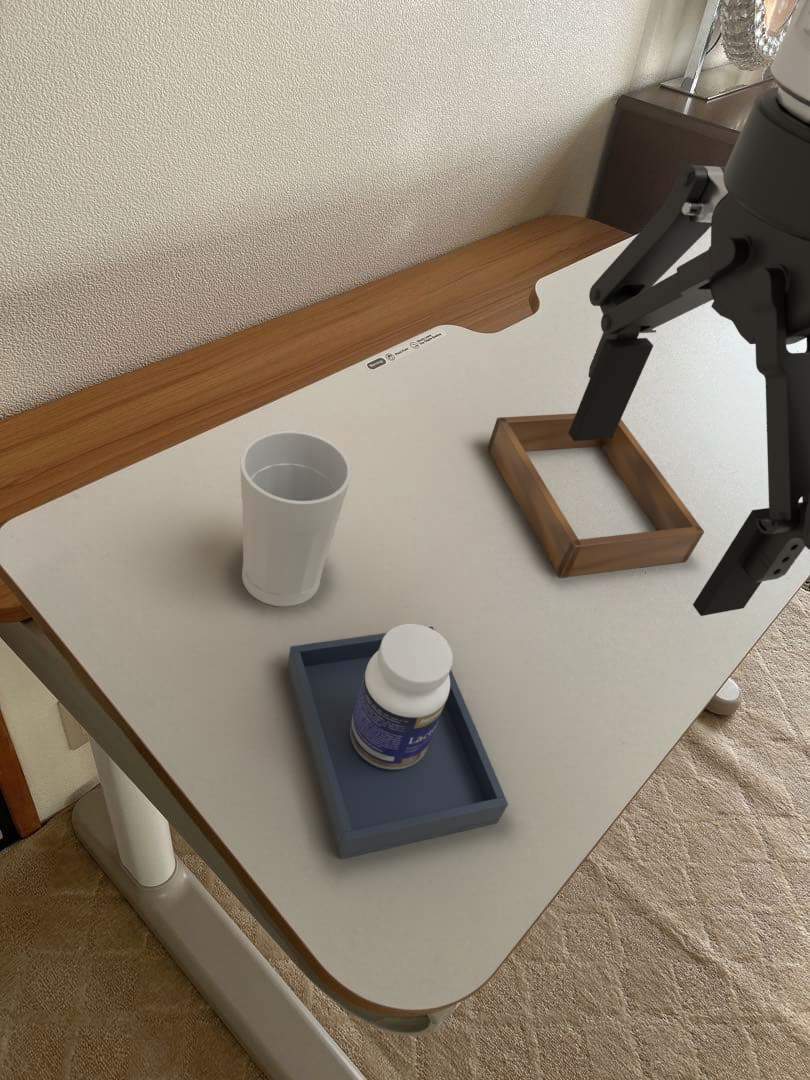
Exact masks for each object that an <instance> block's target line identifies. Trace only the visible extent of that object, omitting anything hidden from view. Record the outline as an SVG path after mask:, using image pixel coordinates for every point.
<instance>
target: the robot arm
mask: <svg viewBox="0 0 810 1080" xmlns="http://www.w3.org/2000/svg"><path fill="white" fill-rule="evenodd" d="M769 68H770V73H771V76H772V78H773V81H774V83H775V84H776V85H777V86H774V87H771V88H769V89H767V90H765V91H764V92H763V93H762V94H759V95H757V96H756V97H755V99H754V100H753V101H754V102H753V103H752V106H751V109H750V110H749V113H748V115H747V117H746V120H745V122H744V124H743V127H742V129H741V131H740V133H739V135H738V137H737V140H736V142H735V145H734V147H733V149H732V151H731V154H730V156H729V158H728V161H727V163H726V165H725V166H715V165H714V166H713V165H712V166H710V165H694V164H689V165H685V166H684V167H682V169H681V170H680V172H679V175H678V177H677V178H676V180H675V182H674V185H673V186H672V188H671V191H670V192H669V195H668V197H667V199H666V201H665V203H664V204H663V205H662V206H661V208H659V209H658V211H657V212H656V213H655V214H654V215H653V217H652V218H651V219H649V221H648V222H647V224H646V225H645V226H644V227H643V228H642V229H641V230H640V231H639V232H638V233H637V234H636V236H635V237H634V238H633V239H632V240H631V241H630V243H629V244H628V245H627V246H626V247H625V248H624V249H623V251H622V252H621V253H620V254H619V255H618V256H617V258H616V259H614V261H613V262H612V263H611V264H610V265H609V266H608V267H607V268H606V270H604V272H603V273H602V274H601V275H600V276H599V277H598V278H597V280H596V281H595V282H594V283H593V284H592V285H591V287H590V290H589V293H588V295H589V296H588V297H589V302H590V304H591V305H592V306H593V307H599V308H600V310H601V312H602V317H601V319H600V328H601V331H602V335H601V337H600V339H599V342H598V345H597V347H596V350H595V353H594V355H593V358H592V360H591V362H590V365H589V369H588V376H587V377H588V378H589V381H588V382H587V386H586V388H585V390H584V393H583V395H582V398H581V400H580V403H579V405H578V408H577V411H576V415H575V418H574V420H573V423H572V425H571V428H570V430H569V433H568V434H569V435H570V436H571V438H572V439H573V441H584V440H595V439H606V438H613V435H614V433H615V431H616V429H617V426H618V424H619V422H620V420H622V417H623V415H624V414H625V410H626V408H627V406H628V404H629V402H630V399H631V397H632V395H633V393H634V390H635V388H636V387H637V384H638V381H639V379H640V377H641V375H642V373H643V371H644V368H645V366H646V364H647V361H648V359H649V357H650V355H651V352H652V351H653V347H654V344H653V343H652V342H651V341H650V340H649V339H648V338H647V337H639V335H640V334H651V333H652V334H654V333H657V330H656V329H655V328H658V327H660V326H662V325H664V324H666V323H669V322H670V321H672V320H675V319H676V318H678V317H681V316H682V315H684V314H687V313H688V312H691V311H693V310H695V309H696V308H698V307H701V306H703V305H704V304H707V303H709V302H711V301H713V302H712V304H711V306H710V307H711V308H712V309H713V310H714V311H715V312H716V313H717V314H718V316H720V317H723V318H724V319H727V320H729V321H731V322H732V323H733V325H734V326H735V328H736V330H737V333H739V336H741V337H742V338H743V340H745V341H746V342H747V343H748V345H755V364H756V365H755V366H756V369H757V371H758V372H759V373H760V375H762V376H763V377H764V380H765V415H766V416H765V417H766V445H767V446H766V449H767V452H766V453H767V485H768V488H767V489H768V490H767V491H768V507H764V508H758V509H751V512H750V513H749V514H748V516H747V517H746V519H745V521H744V522H743V524H742V526H741V527H740V529H739V530H738V532H737V533H736V535H735V537H734V538H733V540H732V541H731V543H730V544H729V546H728V548H727V549H726V551H725V552H724V554H723V556H722V557H721V559H720V561H719V562H718V563H717V565H716V567H715V569H714V570H713V571H712V573H711V574H710V576H709V578H708V580H707V581H706V583H705V584H704V586H703V588H702V589H701V590H700V592H699V594H698V596H697V597H696V599H695V600H694V602H693V603H692V607H693V608H694V609H695V610H696V612H697V613H698V614H699V616H700V617H703V616H704V617H705V616H710V615H715V614H720V613H727V612H729V611H730V612H732V611H736V610H742V609H745V607H746V606H747V604H748V603H749V602H750V600H751V599H752V598H753V595H754V594H755V593H756V592H757V590H758V588H759V587H760V586H761V584H762V583H763V582H767V581H772V580H773V581H774V580H778V579H780V578H782V577H783V576H786V574H787V573H788V572H789V570H790V569H791V567H792V566H793V564H794V563H795V562H796V560H797V559H798V557H799V556H800V555H801V553H802V552H803V551H804V549H805V548H806V549H807V550H809V551H810V0H799V2H798V4H797V6H796V9H795V10H794V13H793V15H792V18H791V19H790V22H789V24H788V27H787V29H786V31H785V33H784V36H783V38H782V40H781V43H780V45H779V47H778V49H777V52H776V53H775V57H774V58H773V60H772V62H771V65H770V67H769ZM709 229H710V246H709V247H708V249H707V250H705V251H704V252H702V253H700V254H698V255H696V256H695V257H693V258H691V259H689V260H687V261H686V262H684V263H682V264H680V265H678V266H677V268H676V272H674V273H673V274H671V275H670V276H668V277H666V278H664V279H662V280H660V279H661V278H662V277H663V276H664V275H665V274H667V272H668V271H669V270H670V269H671V268H672V267H673V266H674V265H675V264H676V263H677V262H679V260H680V259H681V258H682V257H683V256H684V255H685V254H686V253H687V252H688V251H689V250H690V249H691V248H692V247H693V246H694V245H695V244H696V243H697V242H698V241H699V240H700V239H701V238H702V237H703V236H704V235H705V234H706V233H707V231H708V230H709ZM659 280H660V281H659ZM658 281H659V282H658ZM805 339H806V348H805V351H804V352H790V351H789V350H788V348H787V346H788V345H789V346H790V345H794V344H796V343H799V342H801V341H803V340H805ZM801 498H802V501H800V500H801ZM799 501H800V502H799Z"/></svg>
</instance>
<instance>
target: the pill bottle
mask: <svg viewBox="0 0 810 1080" xmlns="http://www.w3.org/2000/svg"><path fill="white" fill-rule="evenodd" d="M428 627H429V626H426V625H422V624H416V623H405V624H399V625H397V626H394V627H393V628H391V629H389V630H388V631H387V632H386V633H387V634H386V635H385V636H384V638H383V640H382V642H381V645H380V648H379V650H378V651H377V652H376V653H375V654H374V655H373V656H372V658H371V659H370V661H369V663H368V665H367V668H366V671H365V674H364V678H363V681H362V685H361V688H360V692H359V695H358V699H357V702H356V705H355V709H354V712H353V716H352V720H351V724H350V736H351V741H352V743H353V745H354V747H355V749H356V751H357V752H358V753H359V755H360V756H361V757H362V758H364V759H365V760H366V761H367V762H369V763H370V764H372V765H374V766H377V767H380V768H383V769H389V770H397V769H403V768H407V767H409V766H411V765H413V764H415V763H416V762H418V761H419V760H420V759H421V758H422V757H423V756H424V754H425V752H426V751H427V748H428V746H429V743H430V741H431V738H432V736H433V733H434V731H435V728H436V725H437V723H438V720H439V718H440V715H441V713H442V710H443V708H444V706H445V703H446V701H447V698H448V695H449V691H450V677H449V672H450V669H451V670H452V666H453V659H454V657H453V651H452V648H451V646H450V644H449V642H448V641H447V640H446V639H445V637H444V636H443V635H442V634H440V633H439V632H437V631H436V630H435V629H434V628H433V629H434V630H433V629H431V628H428Z"/></svg>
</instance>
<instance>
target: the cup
mask: <svg viewBox="0 0 810 1080" xmlns="http://www.w3.org/2000/svg"><path fill="white" fill-rule="evenodd" d="M239 462H240V463H239V467H240V491H241V493H240V494H241V501H242V503H241V504H242V505H241V506H242V547H243V548H242V552H243V553H242V554H243V555H242V556H243V557H242V558H243V559H242V571H241V572H242V573H241V578H242V583H243V587H244V588H245V589H246V591H247V592H248V593H249V594H250V595H251V596H252V597H253V598H254V599H256V600H258V601H260V602H262V603H264V604H267V605H269V606H274V607H293V606H297V605H301V604H303V603H306V602H308V600H310V599H311V598H312V597H314V595H316V593H317V591H318V590H319V587H320V584H321V580H322V579H321V578H322V573H323V570H324V567H325V563H326V560H327V557H328V553H329V551H330V547H331V543H332V541H333V537H334V534H335V530H336V526H337V524H338V521H339V517H340V514H341V510H342V507H343V504H344V501H345V497H346V494H347V492H348V490H349V489H348V488H349V485H350V482H351V480H352V466H351V463H350V460H349V458H348V457H347V455H346V454H345V453H344V452H343V450H342V449H341V448H339V446H338V445H336V444H335V443H333V442H332V441H330V440H328V439H326V438H325V437H323V436H320V435H317V434H314V433H311V432H307V431H300V430H288V429H287V430H276V431H272V432H268V433H265V434H262V435H260V436H258V437H256V438H254V439H253V440H252V441H250V442H249V443H248V444H247V446H246V447H245V448H244V449H243V451H242V453H241V456H240V461H239Z"/></svg>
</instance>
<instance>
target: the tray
mask: <svg viewBox="0 0 810 1080" xmlns="http://www.w3.org/2000/svg"><path fill="white" fill-rule="evenodd" d="M427 627H428V628H431V629H433V630H434V631H435V629H434V627H433V626H427ZM386 634H387V632H381V633H375V634H369V635H361V636H354V637H348V638H347V637H346V638H340V639H333V640H326V641H319V642H312V643H311V642H310V643H306V644H298V645H291V646H290V647H289V653H288V659H287V664H286V665H287V666H286V669H287V673H288V676H289V679H290V683H291V687H292V690H293V694H294V697H295V701H296V705H297V709H298V712H299V715H300V716H299V717H300V720H301V723H302V727H303V730H304V734H305V737H306V740H307V744H308V748H309V752H310V755H311V759H312V762H313V765H314V769H315V773H316V776H317V781H318V784H319V787H320V791H321V794H322V798H323V801H324V805H325V808H326V812H327V816H328V819H329V822H330V826H331V830H332V833H333V836H334V840H335V844H336V848H337V851H338V855H339V858H340V859H341V860H342V859H347V858H351V857H356V856H359V855H364V854H368V853H373V852H377V851H381V850H386V849H390V848H395V847H399V846H403V845H408V844H412V843H415V842H420V841H425V840H428V839H433V838H438V837H442V836H446V835H450V834H455V833H459V832H463V831H468V830H471V829H476V828H480V827H485V826H489V825H493V824H497V823H499V821H500V820H501V818H502V816H503V814H504V813H505V811H506V809H507V807H508V805H509V803H508V801H507V798H506V796H505V793H504V791H503V788H502V787H501V783H500V782H499V779H498V777H497V775H496V772H495V770H494V767H493V765H492V763H491V760H490V758H489V755H488V753H487V751H486V748H485V746H484V744H483V742H482V739H481V737H480V735H479V732H478V730H477V728H476V725H475V723H474V720H473V718H472V716H471V714H470V711H469V709H468V706H467V704H466V702H465V699H464V697H463V694H462V692H461V690H460V688H459V685H458V683H457V680H456V678H455V676H454V673H453V671H452V668H451V669H450V672H449V677H450V691H449V695H448V698H447V701H446V703H445V706H444V708H443V710H442V713H441V715H440V718H439V720H438V723H437V725H436V728H435V731H434V733H433V736H432V738H431V741H430V743H429V746H428V748H427V751H426V752H425V754H424V756H423V757H422V758H421V759H420V760H419V761H418V762H416V763H415V764H413V765H411V766H409V767H407V768H403V769H397V770H389V769H383V768H380V767H377V766H374V765H372V764H370V763H369V762H367V761H366V760H365V759H364V758H362V757H361V756H360V755H359V753H358V752H357V751H356V749H355V747H354V745H353V743H352V741H351V736H350V724H351V720H352V716H353V712H354V709H355V705H356V702H357V699H358V695H359V692H360V688H361V685H362V681H363V678H364V674H365V671H366V668H367V665H368V663H369V661H370V659H371V658H372V656H373V655H374V654H375V653H376V652H377V651H378V650H379V648H380V645H381V642H382V640H383V638H384V636H385V635H386Z"/></svg>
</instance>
